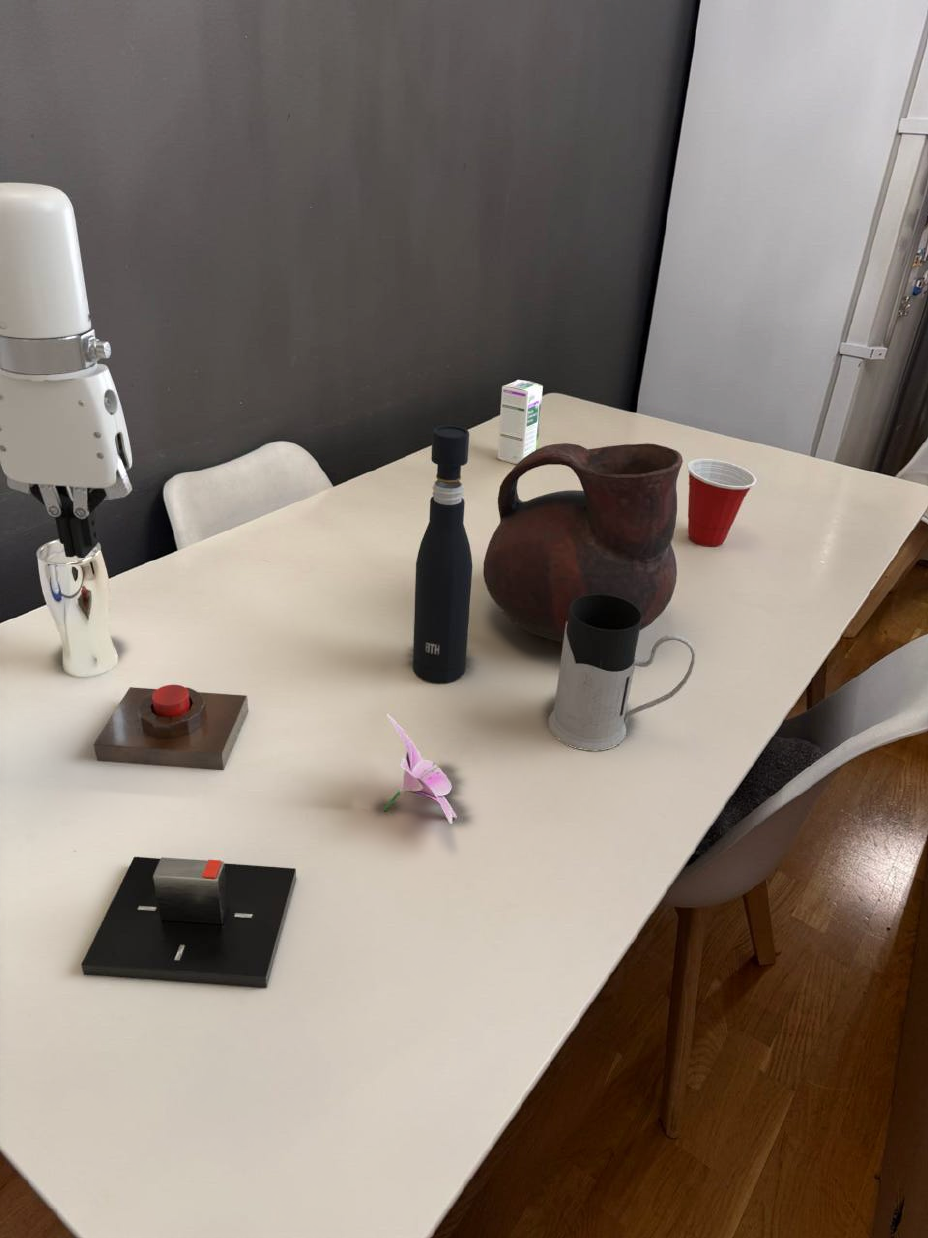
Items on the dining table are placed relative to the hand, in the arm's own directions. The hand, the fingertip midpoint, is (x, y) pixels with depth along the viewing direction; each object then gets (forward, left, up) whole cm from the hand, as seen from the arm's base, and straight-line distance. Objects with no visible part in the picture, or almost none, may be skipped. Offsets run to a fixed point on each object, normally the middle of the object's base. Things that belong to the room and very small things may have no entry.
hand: (81, 550), depth 82 cm
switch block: (+6, +1, -22) cm, 23 cm away
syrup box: (+43, +91, -22) cm, 103 cm away
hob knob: (+16, -24, -19) cm, 35 cm away
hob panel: (+16, -24, -22) cm, 36 cm away
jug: (+50, +31, -22) cm, 63 cm away
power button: (+6, +1, -18) cm, 19 cm away
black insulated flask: (+33, +17, -22) cm, 43 cm away
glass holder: (+53, +7, -22) cm, 58 cm away
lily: (+33, -8, -22) cm, 41 cm away
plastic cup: (+74, +60, -22) cm, 98 cm away
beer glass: (-8, +13, -22) cm, 27 cm away
